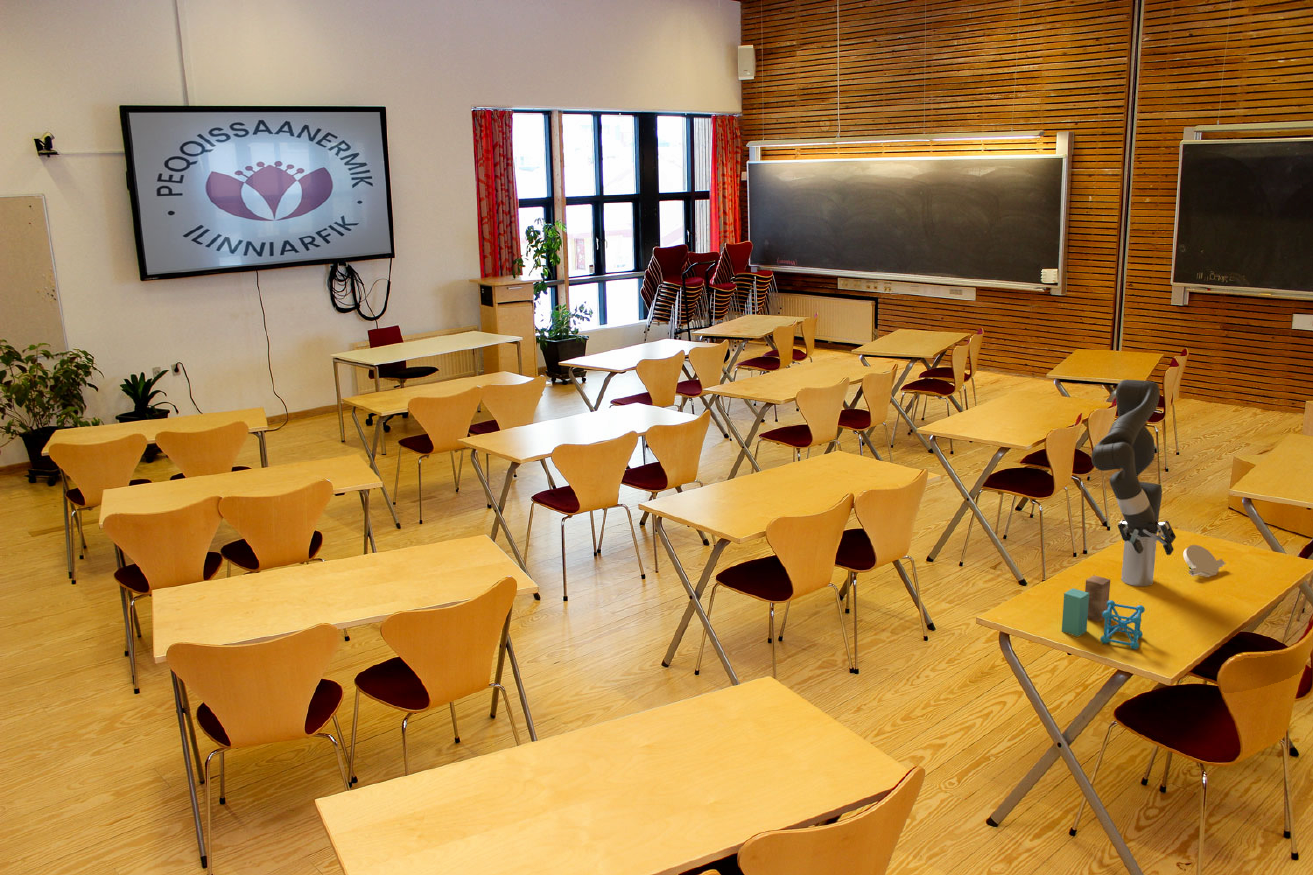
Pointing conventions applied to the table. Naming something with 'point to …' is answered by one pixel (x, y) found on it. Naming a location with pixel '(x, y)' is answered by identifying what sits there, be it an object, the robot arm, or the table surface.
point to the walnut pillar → (1097, 597)
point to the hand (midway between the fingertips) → (1155, 552)
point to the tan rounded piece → (1201, 561)
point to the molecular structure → (1122, 624)
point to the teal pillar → (1075, 612)
